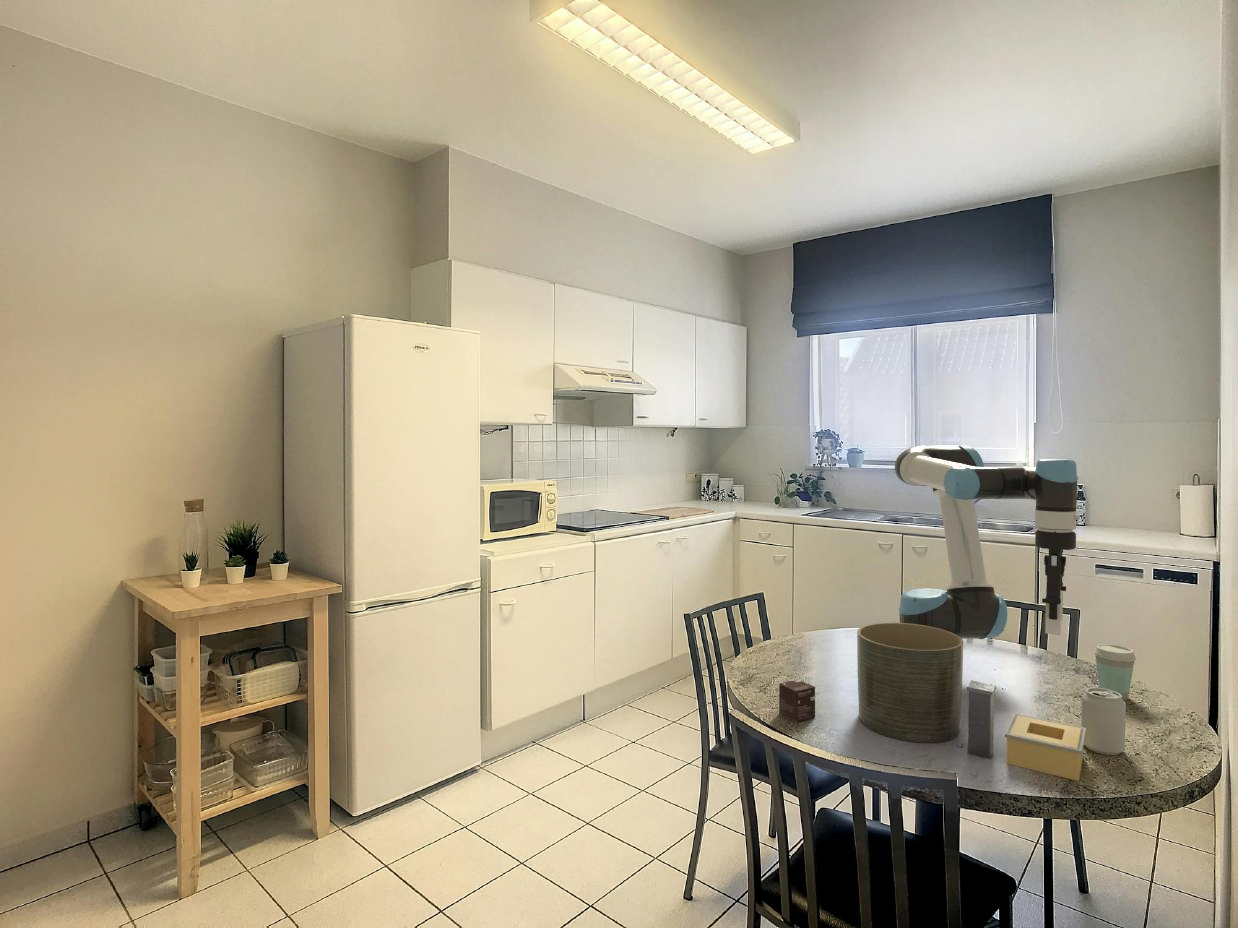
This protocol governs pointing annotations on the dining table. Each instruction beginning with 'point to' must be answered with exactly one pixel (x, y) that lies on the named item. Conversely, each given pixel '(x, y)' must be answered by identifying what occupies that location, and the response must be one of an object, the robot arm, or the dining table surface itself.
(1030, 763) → the tan hollow block
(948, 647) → the planter
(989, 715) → the wedge pin
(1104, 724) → the can
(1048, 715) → the dining table surface
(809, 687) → the box
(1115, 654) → the coffee cup
